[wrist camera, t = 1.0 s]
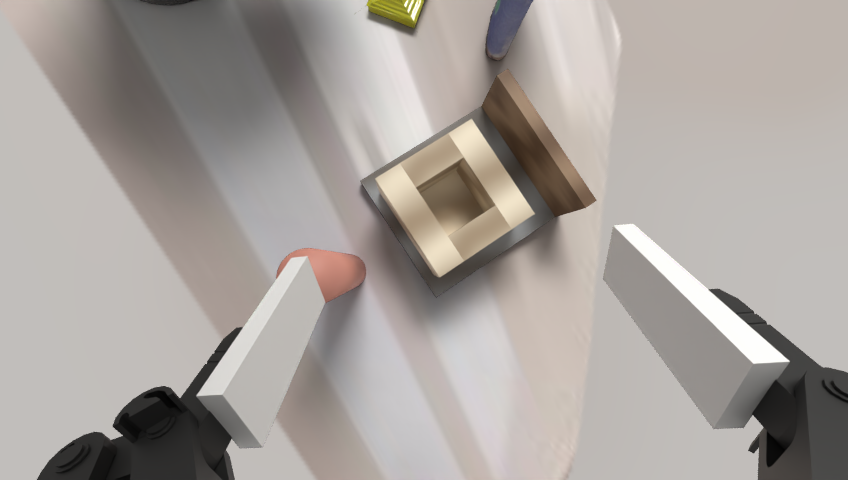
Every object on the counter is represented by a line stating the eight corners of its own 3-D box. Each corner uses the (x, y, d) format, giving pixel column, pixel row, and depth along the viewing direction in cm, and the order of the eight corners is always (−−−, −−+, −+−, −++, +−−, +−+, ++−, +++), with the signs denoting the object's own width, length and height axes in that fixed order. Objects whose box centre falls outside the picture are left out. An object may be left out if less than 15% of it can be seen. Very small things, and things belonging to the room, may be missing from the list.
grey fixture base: (361, 183, 33) (351, 163, 26) (488, 105, 34) (508, 68, 28) (435, 296, 33) (443, 304, 26) (559, 212, 34) (596, 200, 28)
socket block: (379, 191, 32) (374, 178, 27) (461, 140, 33) (471, 118, 28) (433, 275, 31) (439, 277, 26) (514, 221, 32) (534, 213, 27)
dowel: (324, 266, 32) (264, 269, 18) (353, 247, 32) (317, 236, 18) (343, 295, 32) (297, 321, 18) (372, 276, 32) (349, 287, 18)
